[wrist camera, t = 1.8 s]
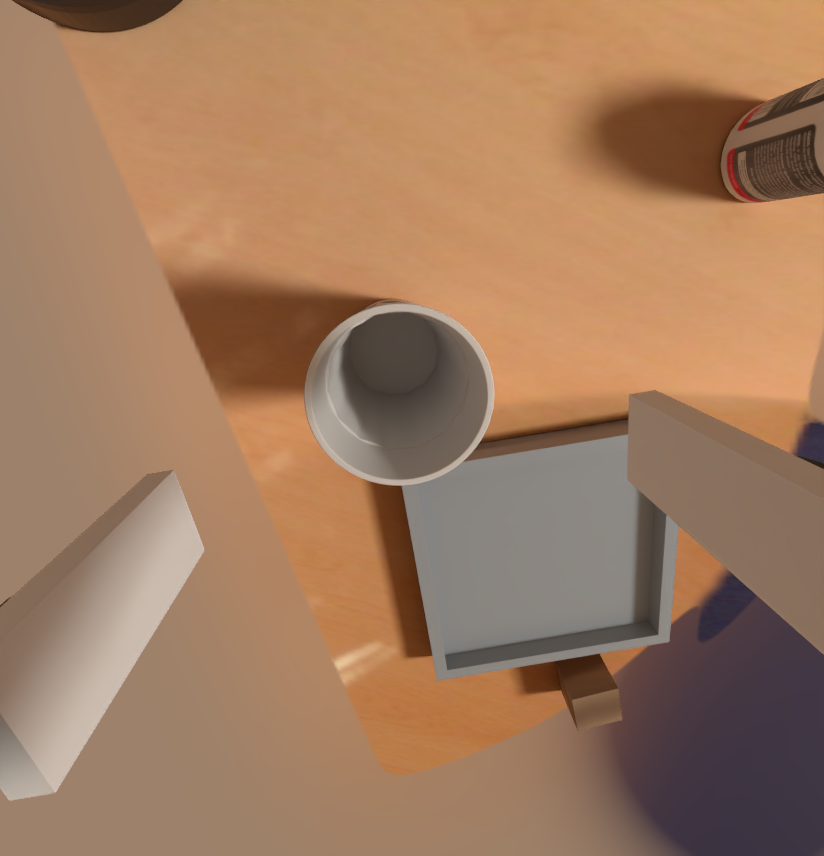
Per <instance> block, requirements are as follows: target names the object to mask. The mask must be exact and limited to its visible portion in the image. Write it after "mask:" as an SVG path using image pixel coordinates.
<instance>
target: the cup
mask: <svg viewBox="0 0 824 856" xmlns="http://www.w3.org/2000/svg"><path fill="white" fill-rule="evenodd" d="M304 403H305V411H306V415H307V419H308V422H309V425H310V428H311V430H312V433H313V435H314V437H315V438H316V440H317V442H318V443H319V445H320V446H321V448H322V449H323V450H324V451H325V453H326V454H327V455H328V456H329V457H330V458H331V459H332V460H333V461H334V462H335V463H337V464H338V465H339V466H340V467H342V468H343V469H345V470H346V471H348V472H349V473H351V474H353V475H355V476H357V477H359V478H362V479H364V480H367V481H370V482H374V483H378V484H384V485H396V486H401V485H413V484H418V483H423V482H426V481H430V480H432V479H435V478H437V477H440V476H442V475H444V474H446V473H447V472H449V471H451V470H452V469H454V468H455V467H457V466H458V465H459V464H460V463H462V462H463V461H464V460H465V459H466V458H467V457H468V456H469V455H470V454H471V453H472V452H473V451H474V449H475V448H476V447H477V445H478V444H479V442H480V441H481V439H482V438H483V436H484V434H485V432H486V430H487V427H488V425H489V422H490V419H491V415H492V411H493V405H494V382H493V376H492V372H491V368H490V365H489V362H488V360H487V358H486V355H485V353H484V352H483V350H482V348H481V346H480V345H479V343H478V342H477V341H476V339H475V338H474V337H473V336H472V335H471V333H470V332H469V331H468V330H467V329H466V328H464V327H463V326H462V325H461V324H460V323H458V322H457V321H456V320H454V319H453V318H451V317H449V316H448V315H446V314H444V313H442V312H440V311H437V310H435V309H432V308H429V307H425V306H421V305H416V304H413V303H411V302H408V301H405V300H400V299H386V300H381V301H378V302H375V303H373V304H371V305H369V306H367V307H366V308H365V309H363V310H362V311H360V312H358V313H356V314H354V315H352V316H351V317H349V318H347V319H346V320H344V321H343V322H341V323H340V324H339V325H338V326H336V327H335V328H334V329H333V330H332V331H331V332H330V333H329V334H328V335H327V336H326V337H325V339H324V340H323V341H322V343H321V344H320V345H319V347H318V349H317V350H316V352H315V354H314V356H313V358H312V360H311V362H310V365H309V368H308V371H307V375H306V380H305V388H304Z"/></svg>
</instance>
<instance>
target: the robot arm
mask: <svg viewBox="0 0 824 856" xmlns="http://www.w3.org/2000/svg"><path fill="white" fill-rule="evenodd" d="M13 1H14V2H15V3H17V4H19V5H20V6H22V7H24V8H26V9H27V10H29V11H31V12H33V13H35V14H37V15H39V16H41V17H43V18H46V19H48V20H50V21H53V22H56V23H59V24H62V25H65V26H69V27H73V28H77V29H83V30H89V31H119V30H126V29H131V28H135V27H138V26H141V25H145V24H147V23H149V22H151V21H154V20H156V19H158V18H159V17H161V16H163V15H165V14H166V13H168V12H169V11H170V10H172V9H173V8H174V7H176V6H177V5H178V4H179V3H180V2H182V0H13ZM627 480H628V481H629V482H630V483H631V484H632V485H634V486H635V487H636V488H637V489H638V490H639V491H640V492H641V493H643V494H644V495H645V496H646V497H647V498H648V499H649V500H650V501H652V502H653V503H654V504H655V505H656V506H657V507H658V508H659V509H661V510H662V511H663V512H664V513H665V514H666V515H667V516H668V517H670V518H671V519H672V520H673V521H674V522H675V523H676V524H677V525H679V526H680V527H681V528H682V529H683V530H684V531H685V532H686V533H688V534H689V535H690V536H691V537H692V538H693V539H694V540H695V541H696V542H698V543H699V544H700V545H701V546H702V547H703V548H704V549H705V550H707V551H708V552H709V553H710V554H711V555H712V556H713V557H714V558H716V559H717V560H718V561H719V562H720V563H721V564H722V565H723V566H725V567H726V568H727V569H728V570H729V571H730V572H731V573H732V574H734V575H735V576H736V577H737V578H738V579H739V580H740V581H741V582H743V583H744V584H745V585H746V586H747V587H748V588H749V589H750V590H752V591H753V592H754V593H755V594H756V595H757V596H758V597H759V598H761V599H762V600H763V601H764V602H765V603H766V604H767V605H769V606H770V607H771V608H772V609H773V610H774V611H775V612H776V613H777V614H779V615H780V616H781V617H782V618H783V619H784V620H785V621H787V622H788V623H789V624H790V625H791V626H792V627H793V628H794V629H796V630H797V631H798V632H799V633H800V634H801V635H802V636H803V637H804V638H806V639H807V640H808V641H809V642H810V643H811V644H812V645H813V646H815V647H816V648H817V649H818V650H819V651H820V652H821V653H822V654H824V464H823V463H821V462H818V461H814V460H810V459H807V458H803V457H799V456H796V455H792V454H790V453H788V452H786V451H784V450H782V449H780V448H778V447H775V446H773V445H771V444H769V443H767V442H765V441H763V440H761V439H758V438H756V437H754V436H752V435H750V434H748V433H746V432H743V431H741V430H739V429H737V428H735V427H733V426H731V425H729V424H726V423H724V422H722V421H720V420H718V419H716V418H714V417H711V416H709V415H707V414H705V413H703V412H701V411H699V410H697V409H694V408H692V407H690V406H688V405H686V404H684V403H682V402H680V401H677V400H675V399H673V398H671V397H669V396H667V395H665V394H662V393H660V392H658V391H656V390H654V391H648V392H642V393H636V394H630V395H629V421H628V461H627ZM204 550H205V549H204V547H203V544H202V542H201V539H200V536H199V534H198V531H197V529H196V526H195V523H194V521H193V519H192V516H191V513H190V510H189V508H188V505H187V503H186V500H185V497H184V495H183V492H182V490H181V488H180V484H179V482H178V479H177V477H176V474H175V472H174V470H170V471H164V472H159V473H152V474H147V475H146V476H145V477H144V478H143V479H142V480H141V481H139V482H138V483H137V484H136V485H135V486H134V487H133V488H132V489H130V491H128V492H127V493H126V494H125V495H124V496H123V497H122V498H121V499H120V500H118V501H117V502H116V503H115V504H114V505H113V506H112V507H111V508H110V509H108V510H107V511H106V512H105V513H104V514H103V515H102V516H101V517H100V518H98V519H97V521H95V522H94V523H93V524H92V525H91V526H90V527H88V528H87V529H86V530H85V531H84V532H83V533H82V534H81V535H80V536H79V537H78V538H76V539H75V540H74V541H73V542H72V543H71V544H70V545H69V546H67V547H66V548H65V549H64V550H63V551H62V552H61V553H60V554H59V555H58V556H56V557H55V558H54V559H53V560H52V561H51V562H50V563H49V564H48V565H46V566H45V567H44V568H43V569H42V570H41V571H40V572H39V573H38V574H36V575H35V576H34V577H33V578H32V579H31V580H30V581H29V582H28V583H27V584H26V585H24V587H22V588H21V589H20V590H19V591H18V592H17V593H15V594H14V595H13V596H12V597H10V598H9V599H7V600H6V601H5V602H4V603H3V604H1V605H0V789H1V790H2V791H3V793H4V794H5V795H6V797H7V798H8V799H9V801H10V800H16V799H22V798H28V797H34V796H40V795H45V794H52V793H56V791H57V789H58V788H59V786H60V784H61V783H62V781H63V780H64V778H65V776H66V775H67V773H68V771H69V770H70V768H71V766H72V765H73V763H74V762H75V760H76V758H77V757H78V755H79V754H80V752H81V750H82V748H83V747H84V745H85V744H86V742H87V740H88V739H89V737H90V736H91V734H92V732H93V731H94V729H95V728H96V726H97V724H98V722H99V721H100V719H101V718H102V716H103V715H104V713H105V711H106V710H107V708H108V706H109V705H110V703H111V701H112V700H113V698H114V697H115V695H116V693H117V692H118V690H119V689H120V687H121V685H122V684H123V682H124V680H125V679H126V677H127V676H128V674H129V672H130V671H131V669H132V667H133V666H134V664H135V662H136V661H137V659H138V658H139V656H140V654H141V653H142V651H143V650H144V648H145V646H146V645H147V643H148V641H149V640H150V638H151V636H152V635H153V633H154V631H155V630H156V628H157V627H158V625H159V624H160V622H161V620H162V618H163V617H164V615H165V614H166V612H167V610H168V608H169V607H170V606H171V604H172V602H173V601H174V599H175V598H176V596H177V594H178V593H179V591H180V589H181V588H182V586H183V585H184V583H185V581H186V580H187V578H188V576H189V575H190V573H191V572H192V570H193V568H194V566H195V565H196V563H197V562H198V560H199V558H200V557H201V555H202V554H203V552H204Z"/></svg>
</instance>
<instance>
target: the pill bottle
mask: <svg viewBox="0 0 824 856" xmlns="http://www.w3.org/2000/svg"><path fill="white" fill-rule="evenodd" d="M721 172H722V177H723V181H724V184H725V186H726V188H727V190H728V191H729V192H730V193H731V194H732V195H733V196H734V197H735V198H737V199H739V200H741V201H744V202H748V203H760V202H769V201H776V200H781V199H789V198H795V197H801V196H807V195H814V194H821V193H824V78H823V79H821V80H818V81H815V82H813V83H811V84H808V85H806V86H804V87H801V88H799V89H796V90H794V91H791V92H789V93H786V94H784V95H781V96H779V97H776V98H774V99H771V100H769V101H768V102H765V103H763V104H760V105H758V106H757V107H755V108H753V109H752V110H750V111H749V112H748V113H746V114H745V115H744V116H743V117H742V118H741V119H740V120H739V121H738V122H737V124H736V125H735V126H734V128H733V129H732V130H731V132H730V134H729V136H728V138H727V140H726V143H725V145H724V149H723V152H722V159H721Z"/></svg>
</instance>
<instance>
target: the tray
mask: <svg viewBox="0 0 824 856" xmlns="http://www.w3.org/2000/svg"><path fill="white" fill-rule="evenodd" d="M628 421H629V419H625V420H619V421H613V422H607V423H601V424H595V425H589V426H583V427H577V428H571V429H565V430H559V431H553V432H547V433H541V434H535V435H529V436H522V437H516V438H510V439H504V440H498V441H492V442H486V443H480V444H478V445H477V447H476V448H475V449H474V451H473V452H472V453H471V454H470V455H469V456H468V457H467V458H466V459H465V460H464V461H463V462H462V463H460V464H459V465H458V466H457V467H455V468H454V469H452V470H451V471H449V472H447V473H446V474H444V475H442V476H440V477H437V478H435V479H432V480H430V481H426V482H423V483H418V484H413V485H402V490H403V496H404V501H405V507H406V512H407V518H408V523H409V529H410V534H411V540H412V545H413V551H414V556H415V562H416V567H417V573H418V578H419V584H420V589H421V595H422V600H423V606H424V611H425V617H426V622H427V628H428V633H429V639H430V644H431V650H432V655H433V661H434V666H435V672H436V677H437V681H439V680H445V679H451V678H457V677H463V676H469V675H475V674H481V673H487V672H493V671H499V670H505V669H511V668H516V667H522V666H528V665H534V664H540V663H546V662H552V661H558V660H564V659H570V658H576V657H582V656H588V655H594V654H600V653H606V652H612V651H618V650H624V649H630V648H636V647H642V646H648V645H653V644H659V643H665V642H669V637H670V627H671V614H672V602H673V590H674V577H675V565H676V553H677V541H678V528H679V525H677V524H676V523H675V522H674V521H673V520H672V519H671V518H670V517H668V516H667V515H666V514H665V513H664V512H663V511H662V510H661V509H659V508H658V507H657V506H656V505H655V504H654V503H653V502H652V501H650V500H649V499H648V498H647V497H646V496H645V495H644V494H643V493H641V492H640V491H639V490H638V489H637V488H636V487H635V486H634V485H632V484H631V483H630V482H629V481H628V480H627V461H628Z"/></svg>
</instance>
